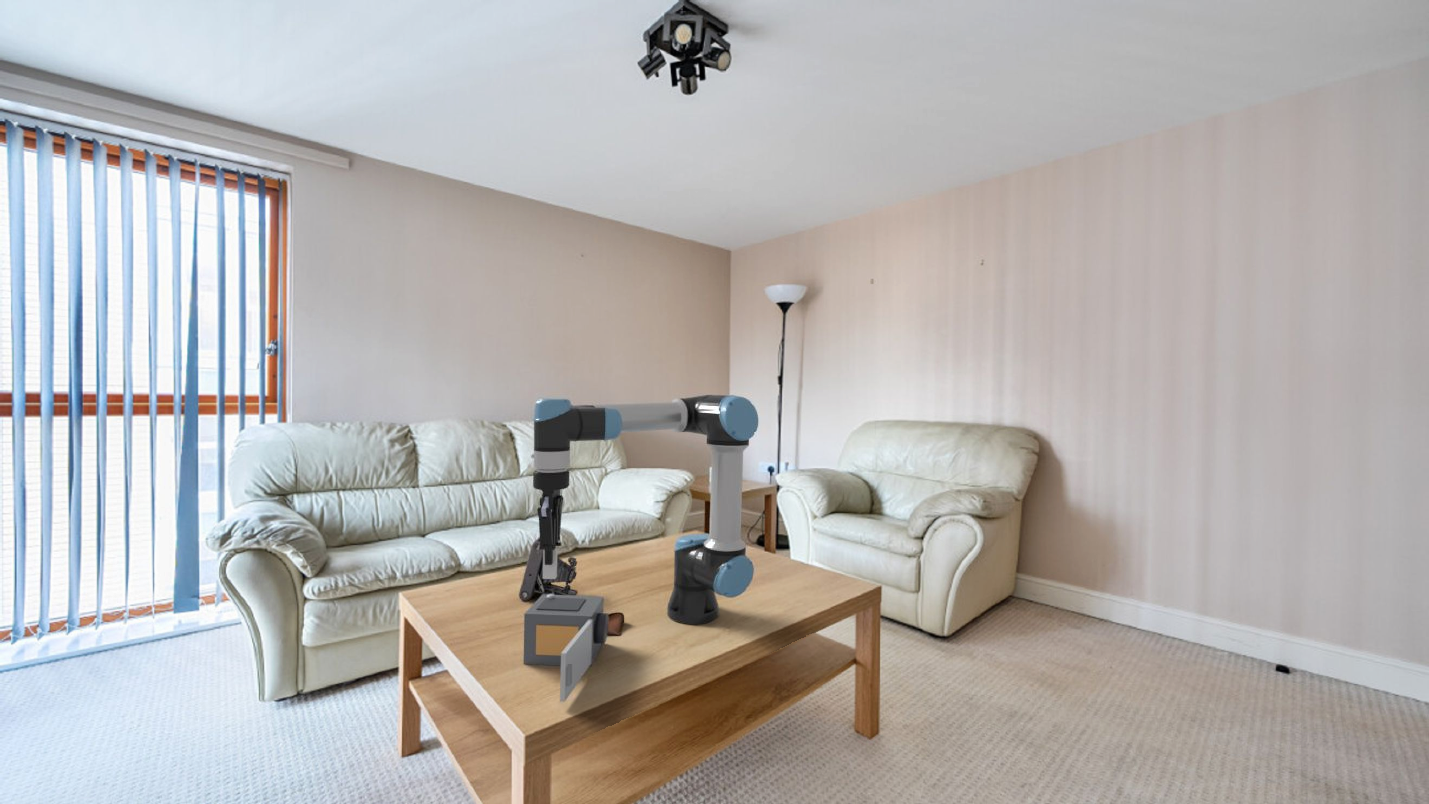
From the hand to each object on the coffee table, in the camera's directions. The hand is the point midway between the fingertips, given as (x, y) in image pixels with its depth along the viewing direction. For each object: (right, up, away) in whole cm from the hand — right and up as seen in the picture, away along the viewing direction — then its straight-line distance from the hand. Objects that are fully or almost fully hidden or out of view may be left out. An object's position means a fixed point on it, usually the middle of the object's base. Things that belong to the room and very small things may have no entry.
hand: (549, 577), depth 115 cm
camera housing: (0, -24, +16) cm, 29 cm away
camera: (-16, -23, +53) cm, 60 cm away
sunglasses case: (+2, -25, +29) cm, 38 cm away
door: (+6, -23, +1) cm, 24 cm away
